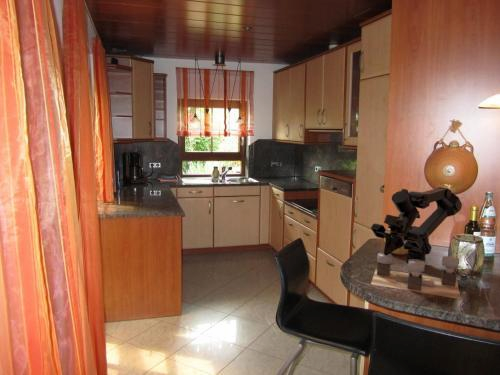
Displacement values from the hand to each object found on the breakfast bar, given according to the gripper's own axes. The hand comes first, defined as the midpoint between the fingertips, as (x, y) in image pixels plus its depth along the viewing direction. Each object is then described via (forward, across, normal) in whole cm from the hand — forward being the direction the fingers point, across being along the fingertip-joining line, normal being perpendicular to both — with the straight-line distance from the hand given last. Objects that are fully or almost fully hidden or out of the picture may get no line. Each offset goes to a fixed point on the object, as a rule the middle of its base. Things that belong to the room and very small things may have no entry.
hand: (385, 254), depth 150 cm
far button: (+4, +13, +1) cm, 14 cm away
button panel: (+5, +11, +7) cm, 14 cm away
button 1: (+4, 0, +4) cm, 6 cm away
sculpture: (-16, -14, +28) cm, 35 cm away
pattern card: (+3, +10, +7) cm, 13 cm away
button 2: (-5, +18, +10) cm, 21 cm away
